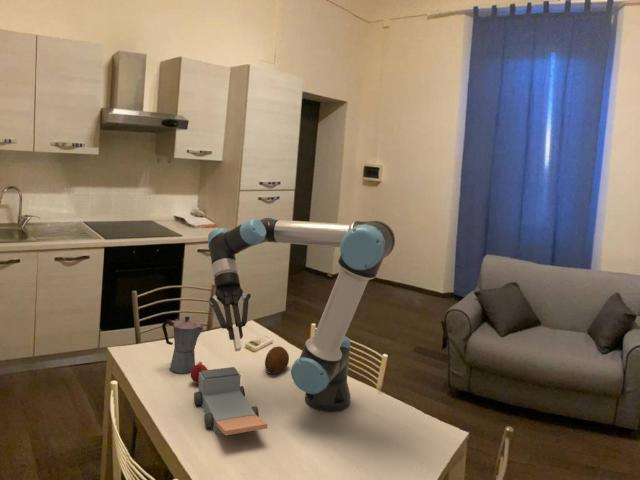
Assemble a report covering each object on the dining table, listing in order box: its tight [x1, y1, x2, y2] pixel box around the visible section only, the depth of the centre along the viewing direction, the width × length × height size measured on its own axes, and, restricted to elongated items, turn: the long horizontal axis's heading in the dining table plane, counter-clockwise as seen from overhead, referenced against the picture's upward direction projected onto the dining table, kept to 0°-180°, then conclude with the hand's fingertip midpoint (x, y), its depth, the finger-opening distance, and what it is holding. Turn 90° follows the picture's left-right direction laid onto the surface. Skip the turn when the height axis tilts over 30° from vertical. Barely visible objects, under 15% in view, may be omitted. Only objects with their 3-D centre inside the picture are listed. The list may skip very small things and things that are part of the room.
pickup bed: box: [193, 366, 260, 434], centre depth 165 cm, size 22×16×10 cm
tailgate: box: [216, 415, 268, 436], centre depth 151 cm, size 2×12×10 cm
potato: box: [264, 346, 290, 375], centre depth 198 cm, size 8×12×9 cm
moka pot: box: [161, 316, 205, 374], centre depth 192 cm, size 10×15×20 cm, turn 89°
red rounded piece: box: [189, 361, 208, 385], centre depth 183 cm, size 6×6×8 cm
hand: (238, 349), depth 155 cm, fingers closed
